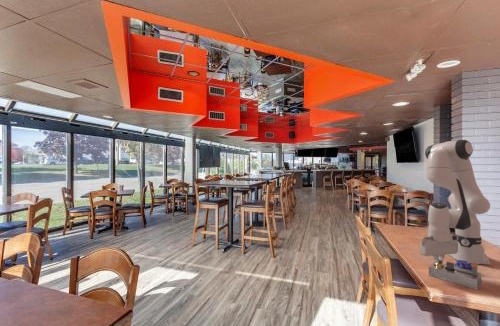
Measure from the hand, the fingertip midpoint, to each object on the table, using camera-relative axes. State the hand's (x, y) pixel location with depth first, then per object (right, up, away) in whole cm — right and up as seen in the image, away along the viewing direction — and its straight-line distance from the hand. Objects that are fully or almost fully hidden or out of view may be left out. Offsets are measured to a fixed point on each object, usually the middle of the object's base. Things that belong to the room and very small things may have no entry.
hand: (438, 263), depth 123 cm
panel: (+3, -6, -4) cm, 8 cm away
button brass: (0, -4, 0) cm, 4 cm away
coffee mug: (+49, -6, +57) cm, 75 cm away
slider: (+9, -1, -11) cm, 14 cm away
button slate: (+3, -2, -4) cm, 5 cm away
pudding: (+16, -6, +4) cm, 18 cm away
